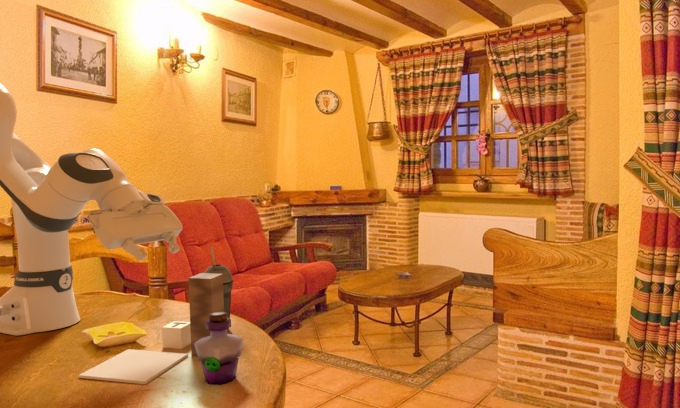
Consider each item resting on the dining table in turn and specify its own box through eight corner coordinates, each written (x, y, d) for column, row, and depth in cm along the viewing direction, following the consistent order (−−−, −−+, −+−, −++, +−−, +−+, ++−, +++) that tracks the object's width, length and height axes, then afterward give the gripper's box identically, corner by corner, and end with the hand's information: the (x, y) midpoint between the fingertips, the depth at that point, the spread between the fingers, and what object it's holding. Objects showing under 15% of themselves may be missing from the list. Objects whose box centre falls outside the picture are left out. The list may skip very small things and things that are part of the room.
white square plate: (78, 377, 94) (78, 375, 94) (128, 351, 107) (128, 349, 107) (145, 384, 90) (145, 381, 90) (188, 356, 104) (187, 353, 104)
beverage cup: (227, 335, 117) (224, 248, 115) (197, 334, 118) (194, 248, 117) (239, 326, 124) (237, 243, 122) (211, 324, 125) (208, 243, 124)
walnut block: (191, 355, 104) (188, 277, 103) (204, 347, 109) (201, 273, 108) (213, 357, 103) (210, 278, 102) (225, 349, 108) (222, 273, 107)
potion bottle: (194, 391, 87) (191, 322, 86) (196, 372, 95) (194, 308, 95) (246, 385, 89) (243, 317, 88) (243, 367, 97) (241, 305, 97)
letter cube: (163, 347, 110) (162, 326, 109) (174, 341, 114) (173, 320, 114) (181, 349, 108) (180, 327, 108) (193, 342, 113) (192, 321, 113)
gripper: (90, 201, 103) (127, 252, 99) (166, 196, 121) (200, 238, 118) (77, 222, 105) (112, 273, 102) (153, 214, 124) (186, 256, 120)
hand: (160, 254), depth 110 cm, fingers open, 8 cm apart
